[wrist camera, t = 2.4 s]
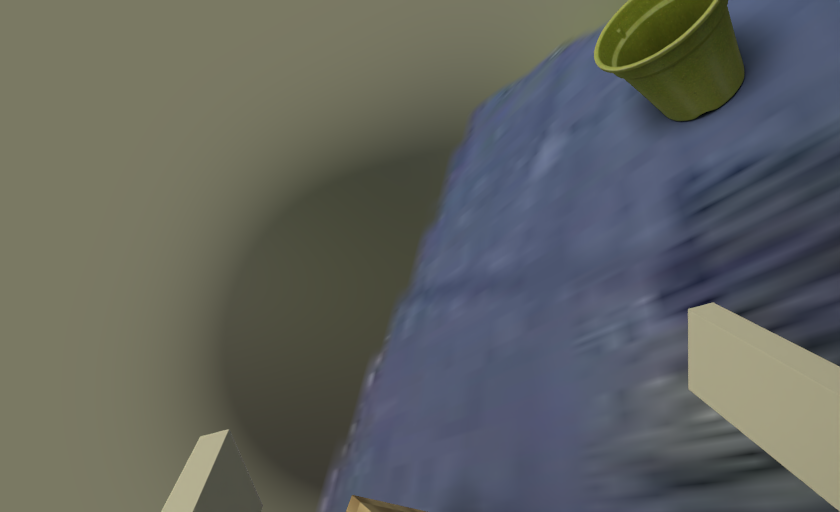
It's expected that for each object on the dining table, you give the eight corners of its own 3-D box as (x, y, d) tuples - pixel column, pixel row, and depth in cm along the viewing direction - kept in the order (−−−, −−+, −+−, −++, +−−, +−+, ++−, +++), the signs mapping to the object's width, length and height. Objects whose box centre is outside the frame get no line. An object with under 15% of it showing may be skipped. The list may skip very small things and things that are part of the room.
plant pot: (690, 45, 39) (643, -28, 35) (804, 38, 31) (761, -59, 26) (625, 131, 40) (572, 70, 36) (718, 146, 32) (663, 69, 28)
